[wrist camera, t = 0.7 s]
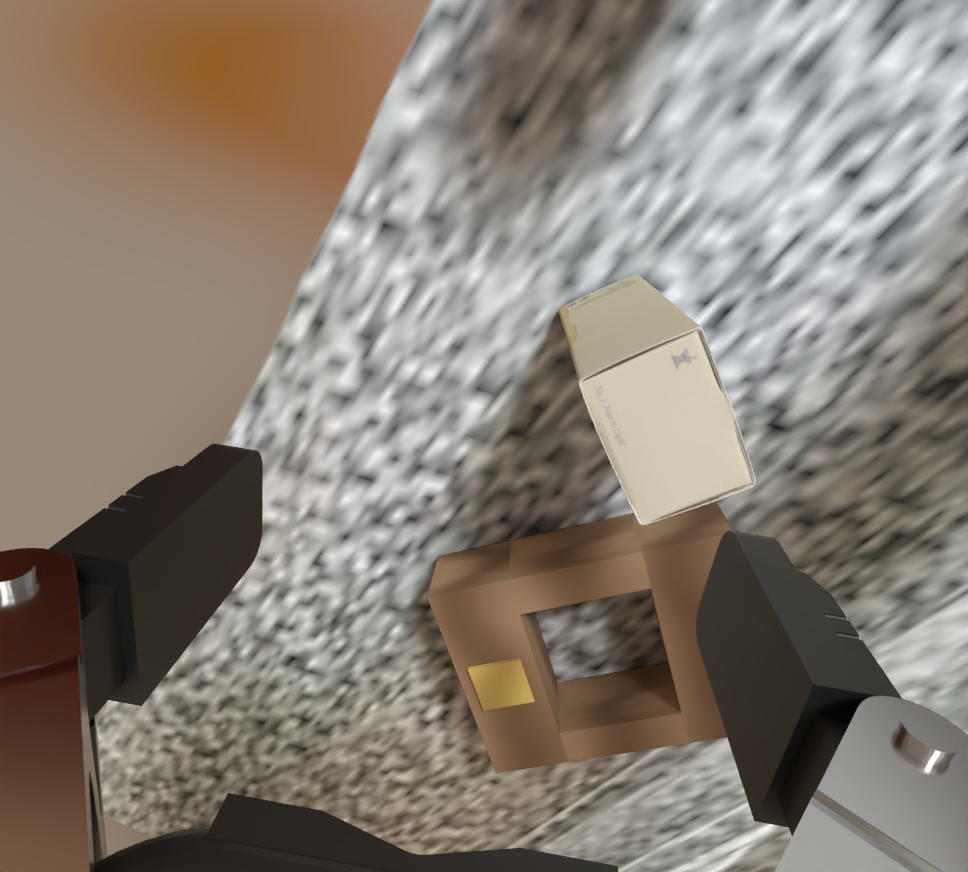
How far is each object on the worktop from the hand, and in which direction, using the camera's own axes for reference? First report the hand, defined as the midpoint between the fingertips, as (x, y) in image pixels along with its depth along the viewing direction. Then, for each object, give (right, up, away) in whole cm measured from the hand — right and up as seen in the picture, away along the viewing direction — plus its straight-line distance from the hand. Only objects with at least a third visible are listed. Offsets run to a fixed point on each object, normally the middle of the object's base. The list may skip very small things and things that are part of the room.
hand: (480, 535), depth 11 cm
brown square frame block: (+7, -9, +27) cm, 30 cm away
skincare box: (+7, +6, +21) cm, 23 cm away
